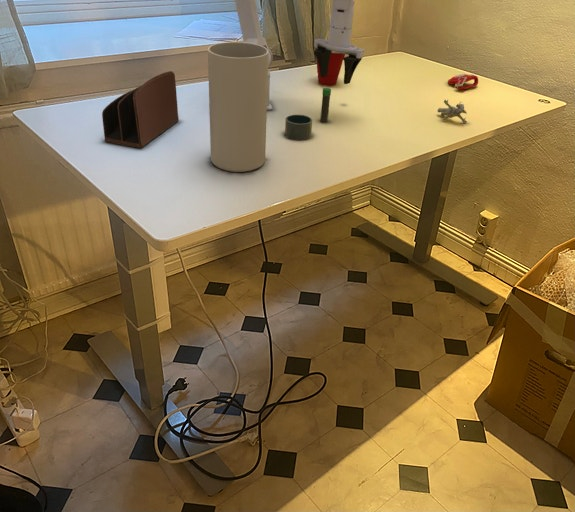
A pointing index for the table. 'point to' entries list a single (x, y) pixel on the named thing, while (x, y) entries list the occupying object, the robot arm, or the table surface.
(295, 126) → the tumbler
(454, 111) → the grey toy animal
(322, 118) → the marker
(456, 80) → the keychain holder
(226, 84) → the cylinder vase
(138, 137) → the letter holder
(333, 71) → the plastic cup
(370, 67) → the table surface
